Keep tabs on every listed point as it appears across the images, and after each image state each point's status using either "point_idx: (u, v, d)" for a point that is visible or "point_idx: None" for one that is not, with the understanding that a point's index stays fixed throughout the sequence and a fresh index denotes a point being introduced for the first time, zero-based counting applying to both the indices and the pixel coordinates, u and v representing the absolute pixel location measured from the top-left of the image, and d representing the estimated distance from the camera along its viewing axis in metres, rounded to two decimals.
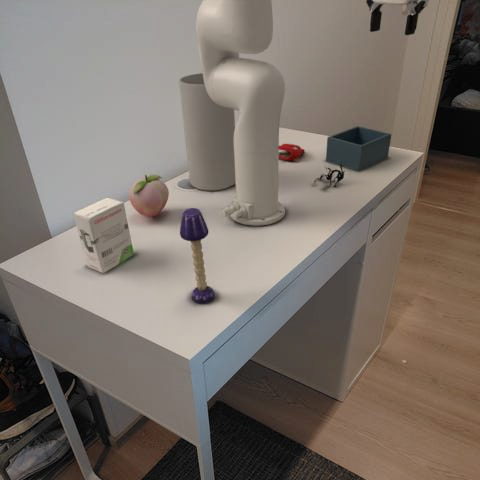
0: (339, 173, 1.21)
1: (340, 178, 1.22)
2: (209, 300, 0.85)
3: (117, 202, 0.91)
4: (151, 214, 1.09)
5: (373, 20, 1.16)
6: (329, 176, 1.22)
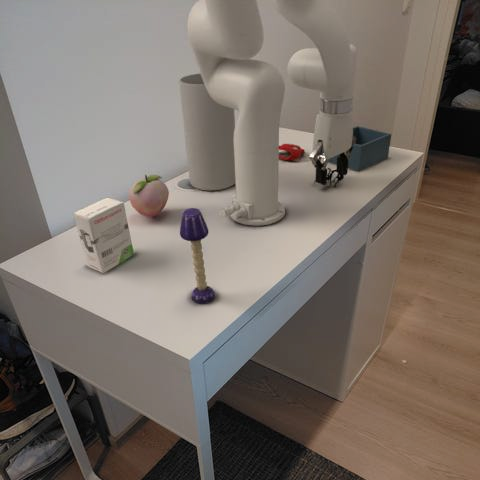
0: (339, 173, 1.21)
1: (340, 178, 1.22)
2: (209, 300, 0.85)
3: (117, 202, 0.91)
4: (151, 214, 1.09)
5: (337, 163, 1.24)
6: (329, 176, 1.22)
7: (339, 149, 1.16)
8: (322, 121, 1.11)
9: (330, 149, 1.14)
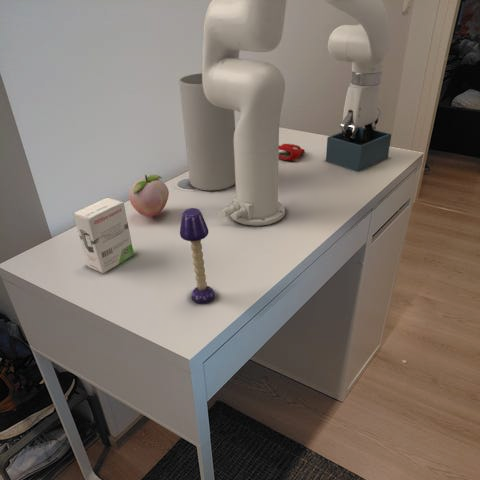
0: None
1: None
2: (209, 300, 0.85)
3: (117, 202, 0.91)
4: (151, 214, 1.09)
5: (363, 135, 1.35)
6: None
7: (367, 120, 1.28)
8: (353, 92, 1.23)
9: (359, 119, 1.25)
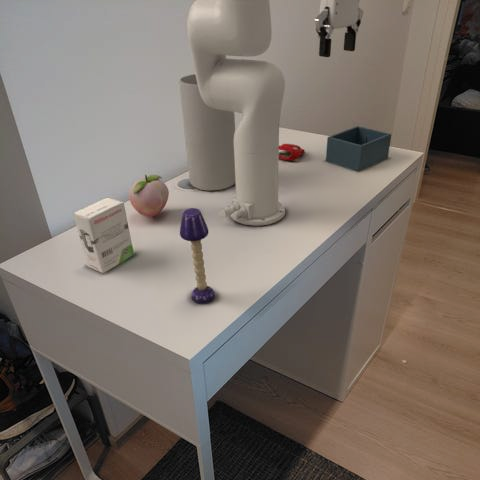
0: None
1: None
2: (209, 300, 0.85)
3: (117, 202, 0.91)
4: (151, 214, 1.09)
5: (344, 39, 1.25)
6: None
7: (345, 20, 1.17)
8: None
9: (336, 17, 1.15)
